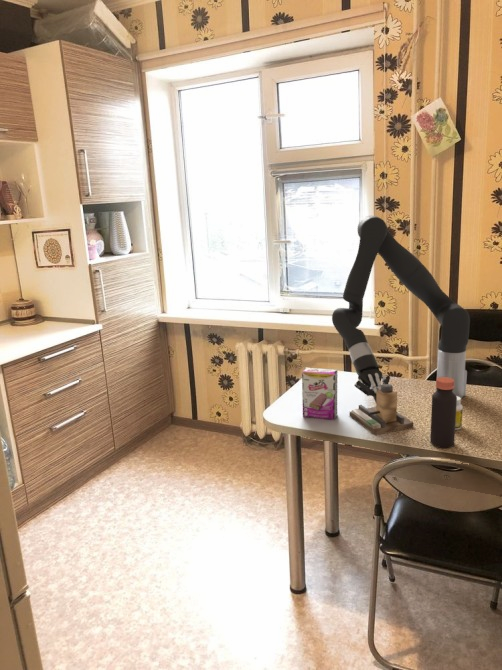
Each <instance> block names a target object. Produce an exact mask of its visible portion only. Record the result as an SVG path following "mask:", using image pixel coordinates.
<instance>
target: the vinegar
mask: <svg viewBox="0 0 502 670" xmlns="http://www.w3.org/2000/svg"><path fill="white" fill-rule="evenodd" d="M435 379H436V382H435V391H434V392H433V393H432V395H431V414H430V415H431V417H430V435H429V436H430V439H429V441H430V444H431V445H433V446H434V447H437V448H442V449H447V448H448V449H449V448H452V447H453V446H455V442H456V441H455V437H456V430H455V423H456V405H457V397H456V395H455V394H454V393H453V389H454V380H453V379H452V378H448V377H440V378H437V377H436V378H435ZM436 389H437V391H436Z"/></svg>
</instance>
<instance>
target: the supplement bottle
mask: <svg viewBox="0 0 502 670" xmlns="http://www.w3.org/2000/svg"><path fill="white" fill-rule="evenodd" d="M456 397H457V405H456V423H455V431H458V430H460V429H462V425H463V413H464V412H463V410H464V406H463V405H462V404H461V403H462V398H460V397H458V396H456Z"/></svg>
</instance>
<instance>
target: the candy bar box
mask: <svg viewBox="0 0 502 670" xmlns="http://www.w3.org/2000/svg"><path fill="white" fill-rule="evenodd" d="M301 381H302V383H301V384H302V391H301V392H302V393H301V394H302V417H303V418H314V419H323V420H332V421H334V420H336V418H337V416H338V369H332V368H331V369H329V368H318V367H317V368H316V367H304V369H303V370H302V372H301Z"/></svg>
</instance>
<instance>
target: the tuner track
mask: <svg viewBox="0 0 502 670" xmlns="http://www.w3.org/2000/svg"><path fill="white" fill-rule="evenodd" d="M375 411H376V406H372V407H365V406H364V405H362V404H358V408H353V409H351V411H349V417H350V418H352V419H353V420H355V422H357V423H358V424H359V425H361V426H362V427H363V428H365V429H367V430H368V431H369V432H370V433H372V434H373V435H374V436H377V435H381V434H385V433H390V432H395V431H400V430H404V429H405V430H406V429H410V428H414V421H412V420H410V419H409V418H407V417H406V416H404V415H403V414H402V413H400V412H398V411H397V420H396V421H394V422H389V423H386V422H385V421H384V420H383V419H381V418H380V417H378V416H377V415H376V414H374V415H368V413H370V412H375Z"/></svg>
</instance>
